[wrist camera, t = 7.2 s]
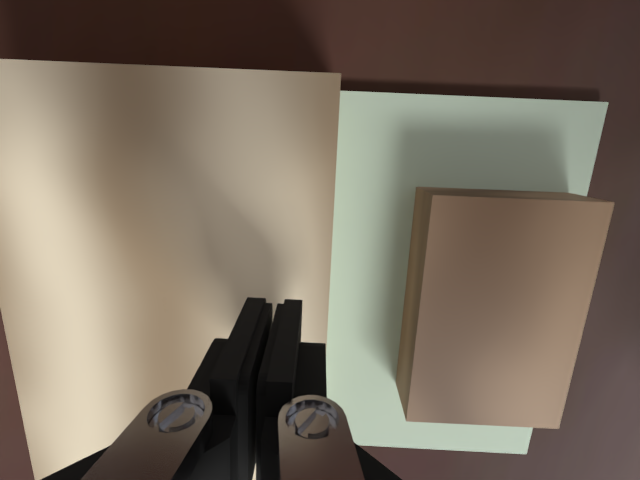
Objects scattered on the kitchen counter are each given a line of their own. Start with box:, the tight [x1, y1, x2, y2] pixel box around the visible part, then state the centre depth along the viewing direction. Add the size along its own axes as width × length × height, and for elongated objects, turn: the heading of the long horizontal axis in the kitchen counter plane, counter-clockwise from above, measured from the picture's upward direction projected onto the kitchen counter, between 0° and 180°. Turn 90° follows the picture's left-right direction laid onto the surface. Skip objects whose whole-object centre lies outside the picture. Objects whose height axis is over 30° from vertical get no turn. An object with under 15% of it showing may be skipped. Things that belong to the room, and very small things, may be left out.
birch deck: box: [0, 59, 341, 480], centre depth 14 cm, size 11×16×4 cm
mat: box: [326, 91, 609, 454], centre depth 16 cm, size 10×16×1 cm, turn 178°
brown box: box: [396, 187, 615, 429], centre depth 14 cm, size 6×9×2 cm, turn 178°
